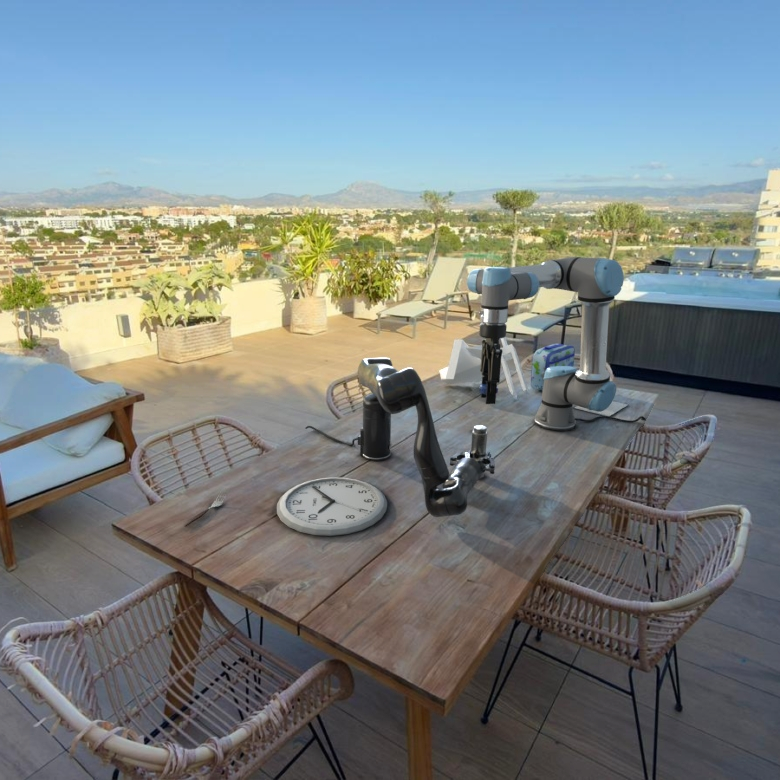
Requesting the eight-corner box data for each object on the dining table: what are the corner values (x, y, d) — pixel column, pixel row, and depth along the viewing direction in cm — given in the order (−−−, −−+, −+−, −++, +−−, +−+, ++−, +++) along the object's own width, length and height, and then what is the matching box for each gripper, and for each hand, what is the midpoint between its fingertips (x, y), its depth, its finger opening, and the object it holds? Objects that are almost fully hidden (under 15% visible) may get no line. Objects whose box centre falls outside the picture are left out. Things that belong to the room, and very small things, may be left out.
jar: (482, 480, 159) (486, 430, 154) (467, 477, 160) (471, 428, 155) (485, 474, 163) (489, 425, 158) (471, 471, 164) (474, 423, 159)
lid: (500, 391, 156) (500, 385, 155) (493, 396, 151) (494, 390, 151) (483, 388, 158) (483, 382, 158) (476, 392, 154) (476, 387, 153)
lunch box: (547, 395, 239) (552, 351, 233) (526, 390, 247) (530, 347, 240) (574, 384, 257) (579, 343, 251) (554, 380, 264) (558, 339, 258)
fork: (180, 527, 131) (179, 520, 130) (221, 497, 145) (220, 491, 145) (189, 529, 130) (188, 522, 130) (228, 499, 144) (228, 493, 144)
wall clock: (392, 527, 129) (268, 531, 127) (391, 533, 130) (269, 537, 127) (383, 473, 158) (282, 475, 155) (383, 478, 158) (282, 480, 156)
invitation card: (608, 416, 214) (573, 407, 224) (608, 416, 214) (573, 408, 224) (628, 404, 229) (594, 396, 238) (628, 405, 229) (594, 397, 238)
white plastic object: (461, 429, 252) (437, 405, 227) (444, 352, 274) (420, 323, 250) (535, 404, 240) (518, 377, 215) (510, 326, 262) (492, 293, 237)
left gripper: (490, 468, 143) (504, 445, 158) (441, 458, 149) (458, 437, 164) (488, 492, 145) (502, 468, 160) (439, 482, 151) (457, 459, 166)
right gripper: (473, 317, 157) (468, 391, 164) (488, 329, 140) (482, 411, 147) (497, 317, 157) (492, 390, 164) (515, 329, 140) (509, 410, 147)
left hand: (480, 453), depth 162 cm, fingers closed on jar, 4 cm apart
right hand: (487, 400), depth 155 cm, fingers closed on lid, 5 cm apart
